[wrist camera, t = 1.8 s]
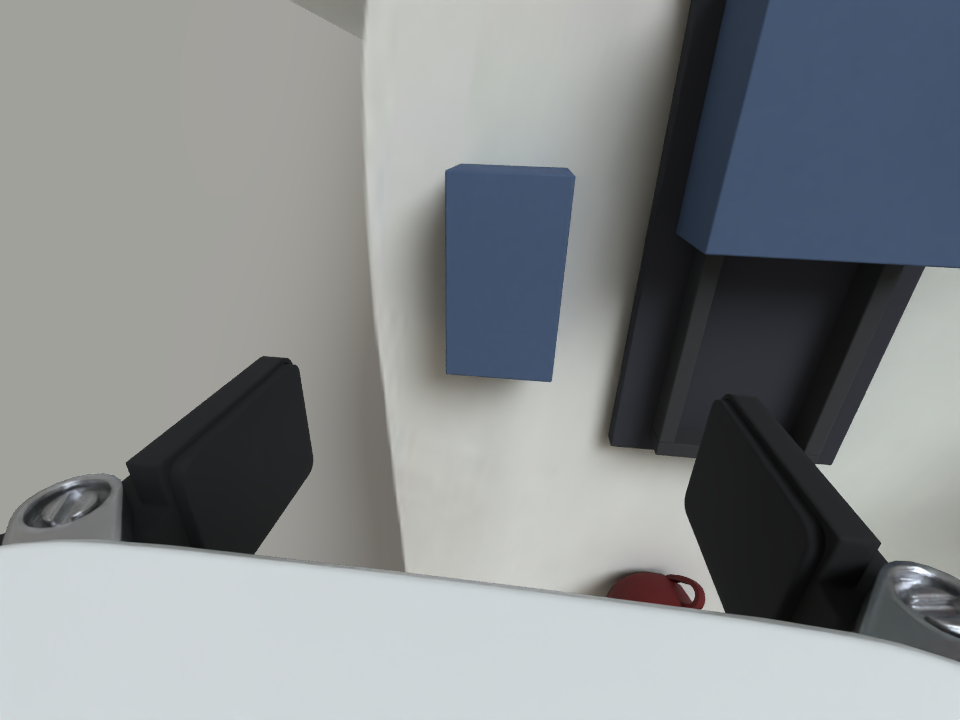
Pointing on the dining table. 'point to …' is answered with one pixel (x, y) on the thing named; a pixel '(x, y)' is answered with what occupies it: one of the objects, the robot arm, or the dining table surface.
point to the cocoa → (657, 590)
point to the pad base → (742, 302)
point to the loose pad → (505, 268)
